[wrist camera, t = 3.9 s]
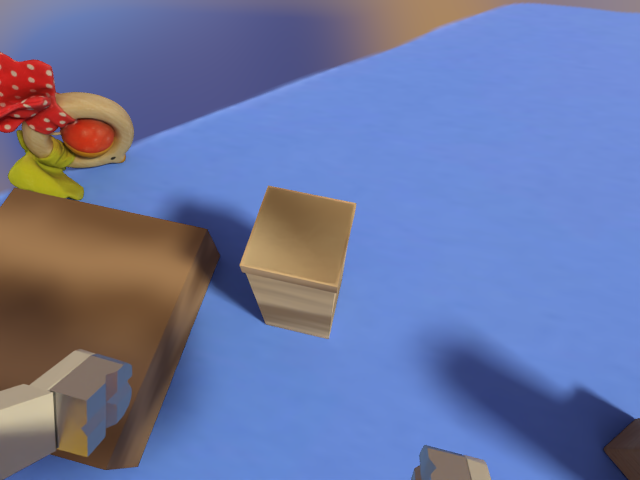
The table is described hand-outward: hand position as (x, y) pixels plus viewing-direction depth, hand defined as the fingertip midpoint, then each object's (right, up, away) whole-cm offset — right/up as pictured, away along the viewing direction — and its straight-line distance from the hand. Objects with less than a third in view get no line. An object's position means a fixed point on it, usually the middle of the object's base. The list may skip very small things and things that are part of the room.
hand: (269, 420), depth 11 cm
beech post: (0, +1, +17) cm, 17 cm away
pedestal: (-14, -1, +16) cm, 22 cm away
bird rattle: (-18, +11, +22) cm, 30 cm away
